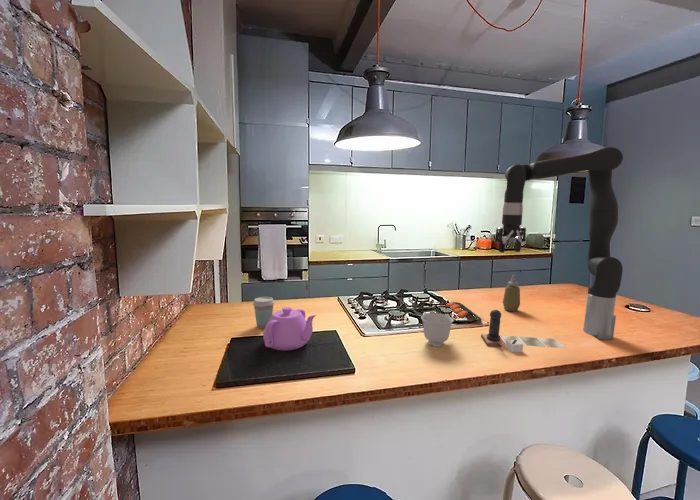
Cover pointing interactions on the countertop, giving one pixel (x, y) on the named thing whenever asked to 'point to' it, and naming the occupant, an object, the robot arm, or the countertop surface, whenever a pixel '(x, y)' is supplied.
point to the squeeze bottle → (512, 295)
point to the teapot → (288, 329)
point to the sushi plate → (460, 310)
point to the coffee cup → (263, 310)
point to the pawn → (494, 326)
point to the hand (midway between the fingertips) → (509, 252)
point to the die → (514, 346)
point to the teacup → (436, 327)
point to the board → (527, 340)
